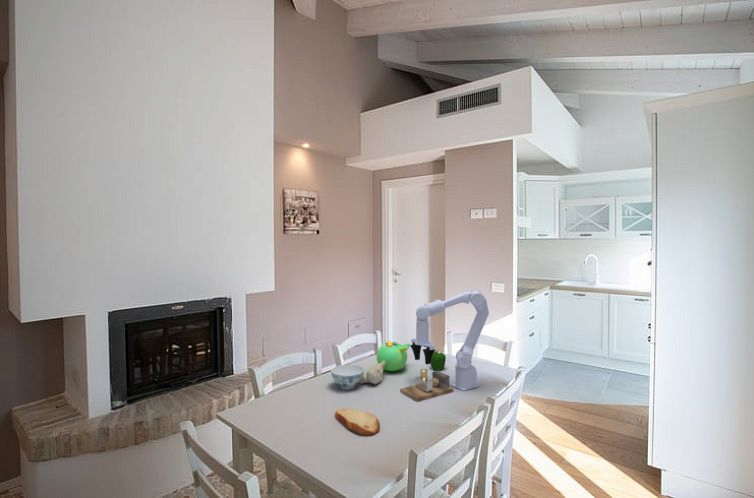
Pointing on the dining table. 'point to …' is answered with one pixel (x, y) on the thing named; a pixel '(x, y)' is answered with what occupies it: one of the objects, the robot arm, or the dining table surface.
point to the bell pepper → (438, 360)
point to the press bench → (439, 389)
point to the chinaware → (347, 375)
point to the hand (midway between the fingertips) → (422, 361)
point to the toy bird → (393, 355)
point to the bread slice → (358, 421)
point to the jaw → (424, 381)
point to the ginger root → (374, 374)
